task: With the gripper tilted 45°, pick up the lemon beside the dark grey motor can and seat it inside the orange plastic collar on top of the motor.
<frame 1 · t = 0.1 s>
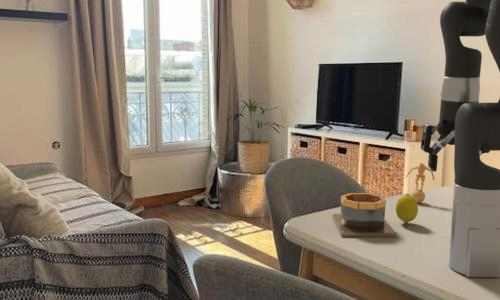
hand: (452, 170, 110), 17 cm above the table, tool pointing down, fingers open, 8 cm apart
figurine: (418, 202, 150), on the table
motor mount: (362, 226, 126), on the table
lemon: (406, 224, 129), on the table
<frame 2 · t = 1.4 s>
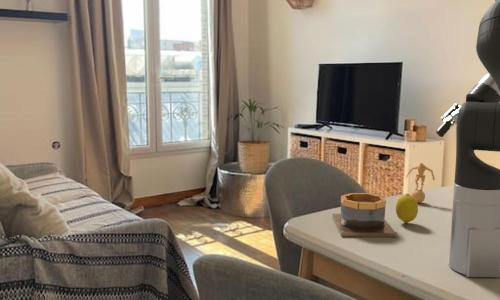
hand: (449, 137, 129), 22 cm above the table, tool tilted 45°, fingers open, 8 cm apart
nothing on the table moved.
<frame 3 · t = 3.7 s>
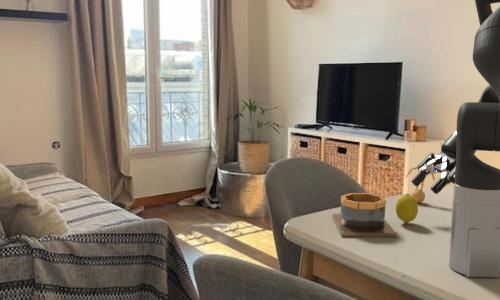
hand: (423, 187, 129), 9 cm above the table, tool tilted 45°, fingers open, 8 cm apart
nothing on the table moved.
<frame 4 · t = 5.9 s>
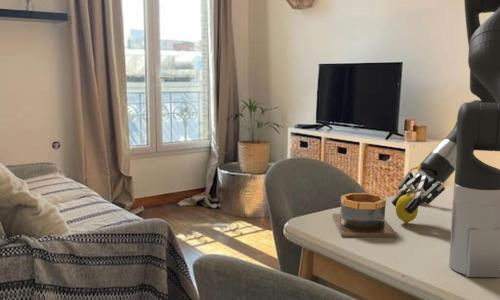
hand: (400, 208, 128), 4 cm above the table, tool tilted 45°, fingers closed on lemon, 5 cm apart
lemon: (406, 224, 129), on the table, touching gripper
everything else where it was.
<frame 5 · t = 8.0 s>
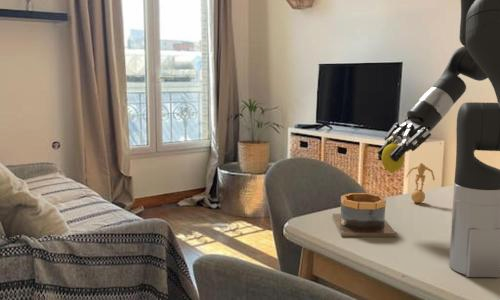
hand: (386, 157, 125), 18 cm above the table, tool tilted 45°, fingers closed on lemon, 5 cm apart
lemon: (392, 174, 126), point 13 cm above the table, touching gripper
everything else where it was.
when the fingers open (12 cm above the table, at t = 10.3 s): lemon stays where it is, resting on motor mount.
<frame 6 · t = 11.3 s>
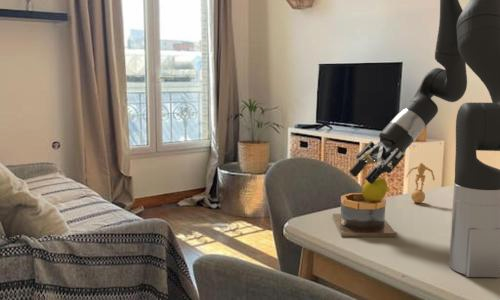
hand: (359, 177, 124), 13 cm above the table, tool tilted 45°, fingers open, 8 cm apart
lemon: (365, 200, 126), point 7 cm above the table, touching gripper, motor mount
everything else where it was.
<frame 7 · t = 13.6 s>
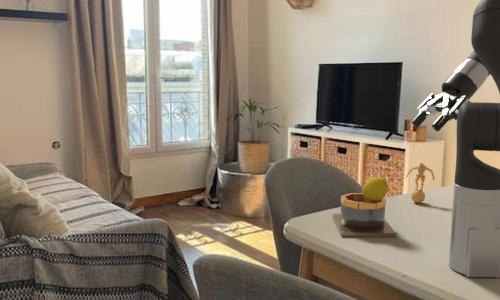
hand: (424, 127, 125), 25 cm above the table, tool tilted 45°, fingers open, 8 cm apart
lemon: (365, 200, 126), point 7 cm above the table, touching motor mount
everything else where it was.
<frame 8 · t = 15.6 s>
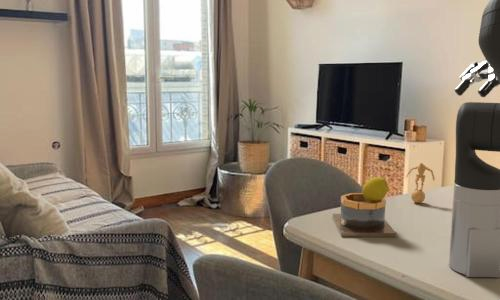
hand: (468, 94, 123), 34 cm above the table, tool tilted 45°, fingers open, 8 cm apart
nothing on the table moved.
at the end: lemon 0.7 cm off-centre on the motor mount, point 6.8 cm above the motor mount's base; the gripper is holding nothing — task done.
